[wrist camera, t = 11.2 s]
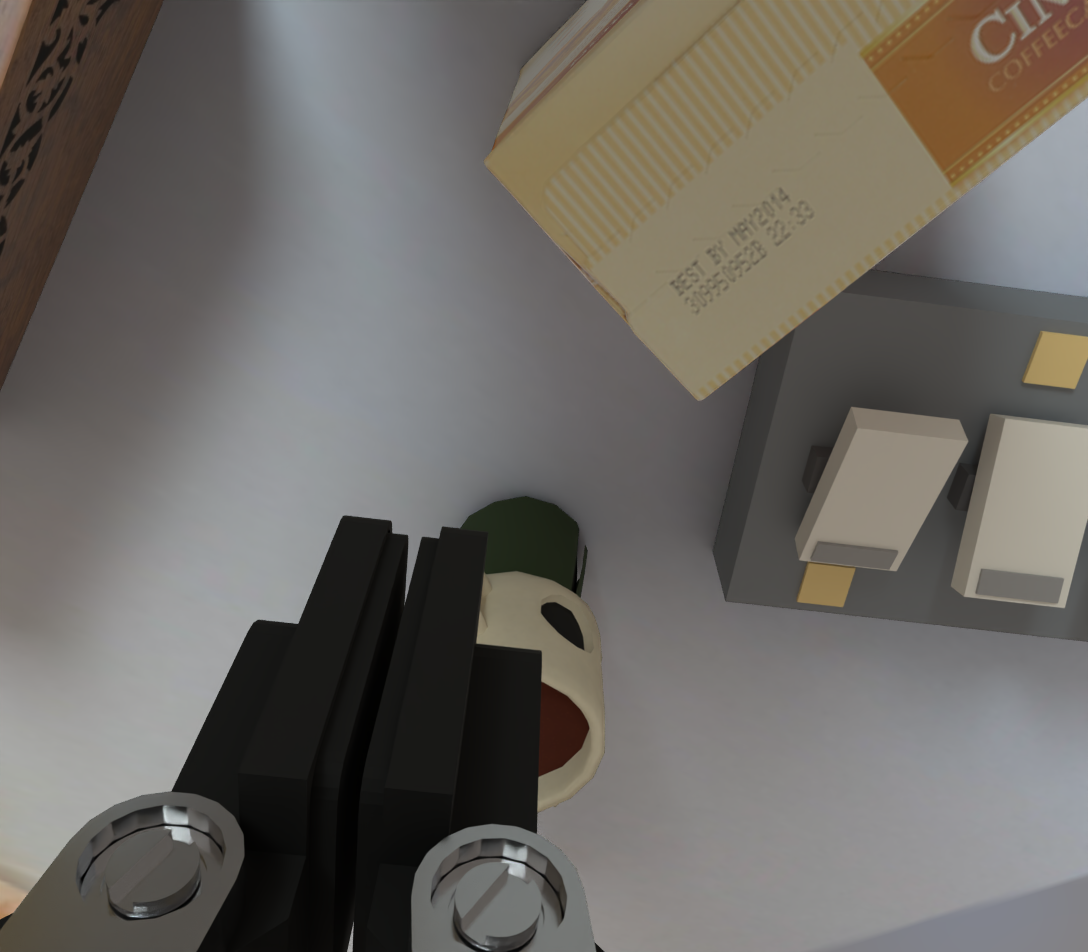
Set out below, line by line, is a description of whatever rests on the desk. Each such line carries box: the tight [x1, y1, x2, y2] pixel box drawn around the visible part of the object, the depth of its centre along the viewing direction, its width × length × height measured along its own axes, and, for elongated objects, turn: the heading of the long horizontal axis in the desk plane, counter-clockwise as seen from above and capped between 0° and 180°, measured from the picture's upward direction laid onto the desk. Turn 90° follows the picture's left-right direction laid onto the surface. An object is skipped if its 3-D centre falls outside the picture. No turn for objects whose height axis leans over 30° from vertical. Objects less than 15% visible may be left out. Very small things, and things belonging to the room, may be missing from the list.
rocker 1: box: [795, 407, 968, 571], centre depth 36 cm, size 7×4×1 cm, turn 173°
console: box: [713, 270, 1088, 642], centre depth 40 cm, size 14×20×5 cm
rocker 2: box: [951, 414, 1088, 608], centre depth 37 cm, size 7×4×1 cm, turn 173°
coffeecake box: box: [484, 0, 1088, 401], centre depth 25 cm, size 15×7×20 cm, turn 132°
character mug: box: [460, 496, 605, 812], centre depth 39 cm, size 11×7×13 cm, turn 19°
